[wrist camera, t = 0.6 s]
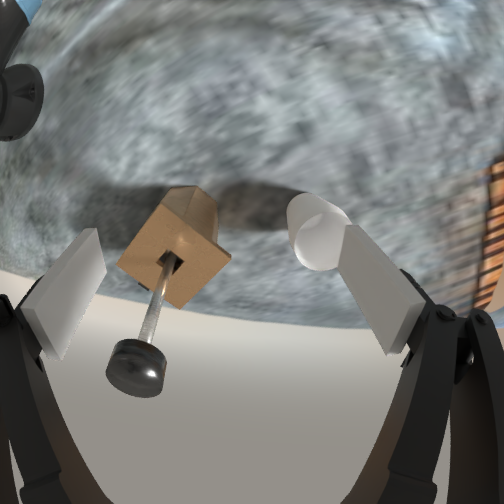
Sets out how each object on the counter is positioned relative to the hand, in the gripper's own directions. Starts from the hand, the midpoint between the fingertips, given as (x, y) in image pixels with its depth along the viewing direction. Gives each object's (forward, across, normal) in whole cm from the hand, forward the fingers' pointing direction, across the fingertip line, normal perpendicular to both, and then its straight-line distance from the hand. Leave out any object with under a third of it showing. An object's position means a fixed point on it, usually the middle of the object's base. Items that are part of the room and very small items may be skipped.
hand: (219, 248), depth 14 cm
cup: (+31, +14, -10) cm, 35 cm away
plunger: (+19, -6, -11) cm, 23 cm away
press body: (+31, -7, -12) cm, 34 cm away
